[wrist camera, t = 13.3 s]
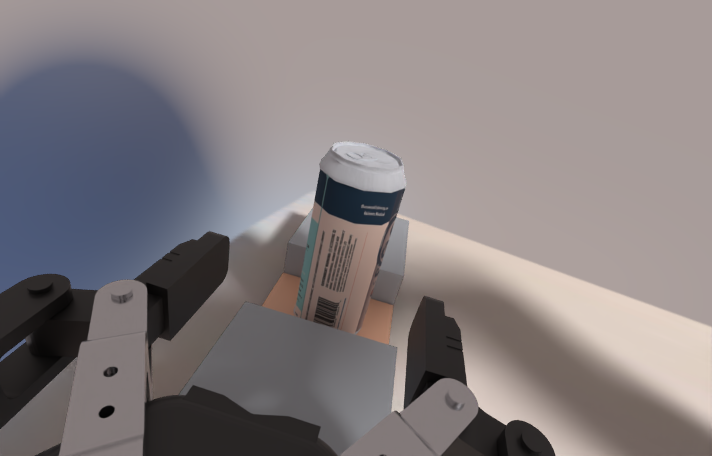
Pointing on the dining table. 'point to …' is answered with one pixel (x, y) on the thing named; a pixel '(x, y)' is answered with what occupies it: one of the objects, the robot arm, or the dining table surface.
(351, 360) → the grey peach bar
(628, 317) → the dining table surface
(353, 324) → the beer can
